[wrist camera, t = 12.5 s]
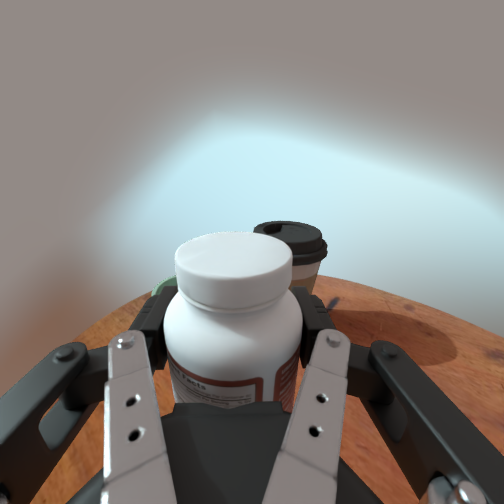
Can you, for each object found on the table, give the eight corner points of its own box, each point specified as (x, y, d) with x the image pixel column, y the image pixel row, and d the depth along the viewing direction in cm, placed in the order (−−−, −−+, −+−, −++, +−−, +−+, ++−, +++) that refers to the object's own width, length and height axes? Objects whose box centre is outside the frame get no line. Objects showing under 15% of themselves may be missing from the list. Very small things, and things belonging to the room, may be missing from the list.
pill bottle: (254, 364, 18) (260, 220, 14) (312, 446, 13) (350, 262, 9) (169, 403, 15) (141, 236, 11) (201, 528, 10) (175, 313, 6)
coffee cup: (265, 291, 46) (268, 215, 40) (324, 311, 41) (339, 226, 35) (230, 326, 37) (228, 234, 31) (301, 357, 32) (315, 253, 26)
